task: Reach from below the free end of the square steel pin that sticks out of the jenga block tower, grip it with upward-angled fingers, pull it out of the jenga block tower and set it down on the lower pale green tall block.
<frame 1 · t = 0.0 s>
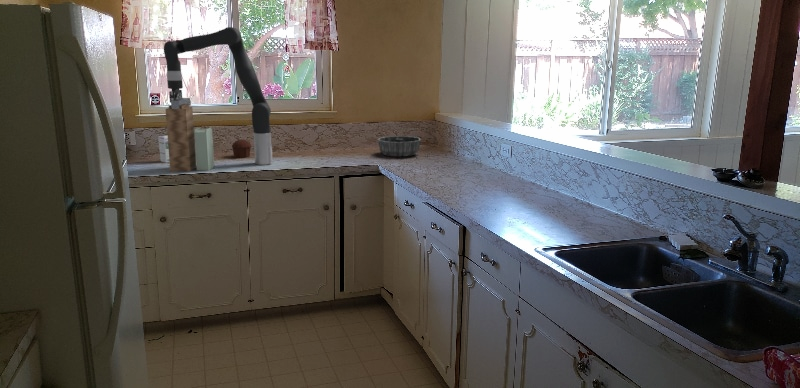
hand: (177, 110, 326), 29 cm above the worktop, tool pointing down, fingers open, 8 cm apart
jenga block tower: (183, 168, 318), on the worktop
pale green tall block: (205, 168, 321), on the worktop
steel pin: (181, 107, 315), point 32 cm above the worktop, touching jenga block tower
bundt pan: (399, 155, 369), on the worktop
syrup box: (167, 161, 339), on the worktop
muffin: (242, 157, 356), on the worktop
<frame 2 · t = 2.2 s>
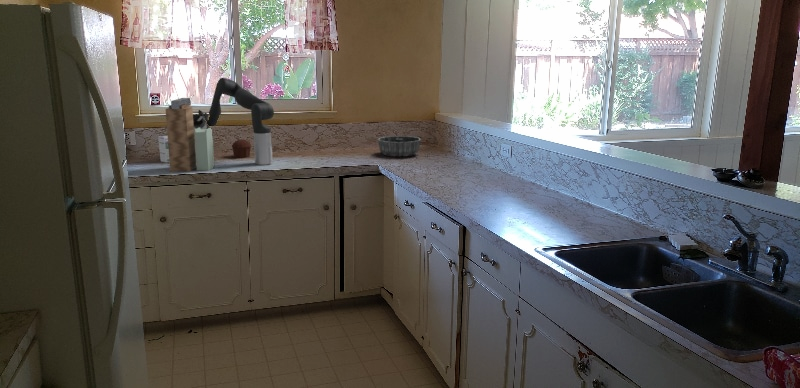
hand: (191, 111, 332), 28 cm above the worktop, tool pointing upward, fingers open, 8 cm apart
nothing on the worktop moved.
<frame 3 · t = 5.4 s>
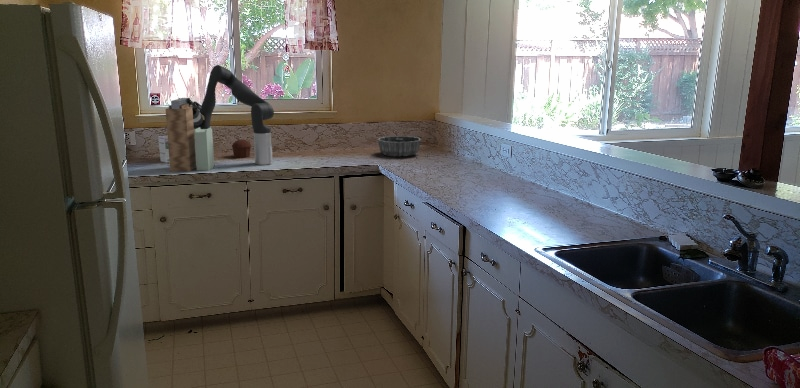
hand: (183, 99, 318), 35 cm above the worktop, tool pointing upward, fingers closed on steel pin, 4 cm apart
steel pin: (181, 107, 315), point 32 cm above the worktop, touching jenga block tower, gripper
everything else where it was.
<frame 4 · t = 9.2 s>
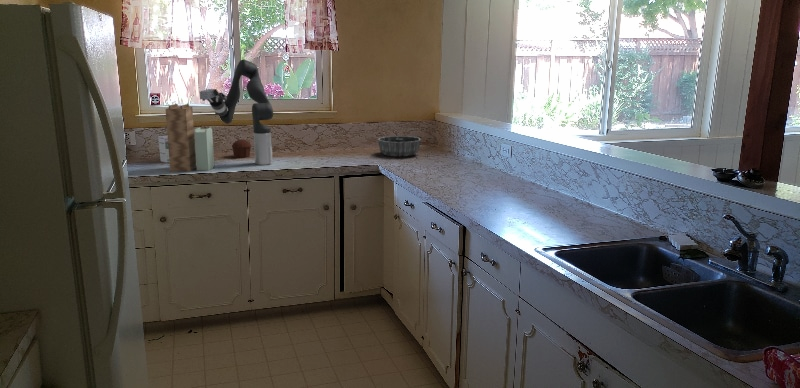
hand: (210, 90, 331), 39 cm above the worktop, tool pointing upward, fingers closed on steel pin, 4 cm apart
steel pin: (208, 97, 327), point 36 cm above the worktop, touching gripper
everything else where it was.
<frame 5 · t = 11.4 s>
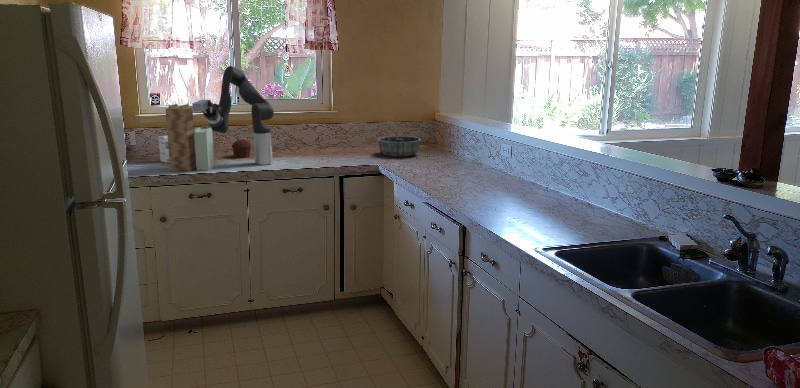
hand: (204, 101, 318), 35 cm above the worktop, tool pointing upward, fingers closed on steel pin, 4 cm apart
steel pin: (202, 109, 314), point 31 cm above the worktop, touching gripper
everything else where it was.
when the fingers open (25 cm above the worktop, at t = 13.3 s): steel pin drops 2 cm, resting on pale green tall block.
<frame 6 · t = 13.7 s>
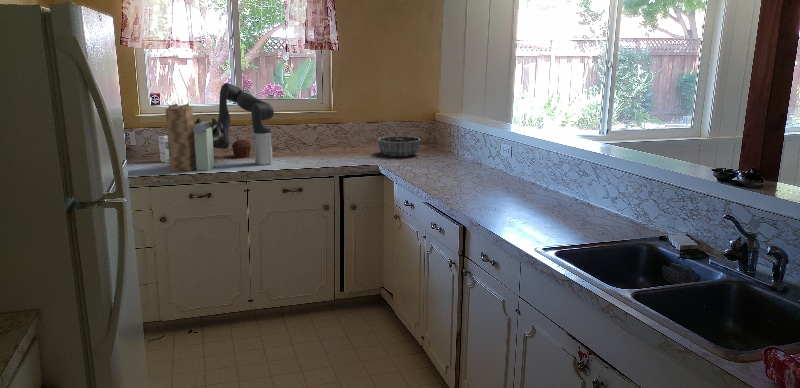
hand: (205, 119, 320), 25 cm above the worktop, tool pointing upward, fingers open, 7 cm apart
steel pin: (203, 130, 317), point 20 cm above the worktop, touching pale green tall block
everything else where it was.
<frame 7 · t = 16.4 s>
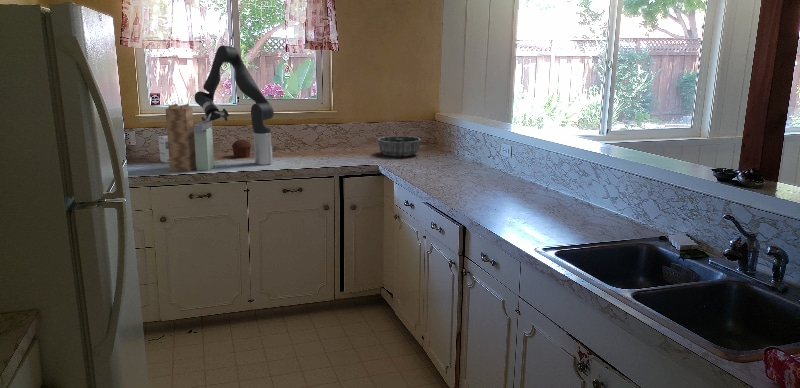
hand: (218, 122, 331), 22 cm above the worktop, tool tilted 70°, fingers open, 8 cm apart
nothing on the worktop moved.
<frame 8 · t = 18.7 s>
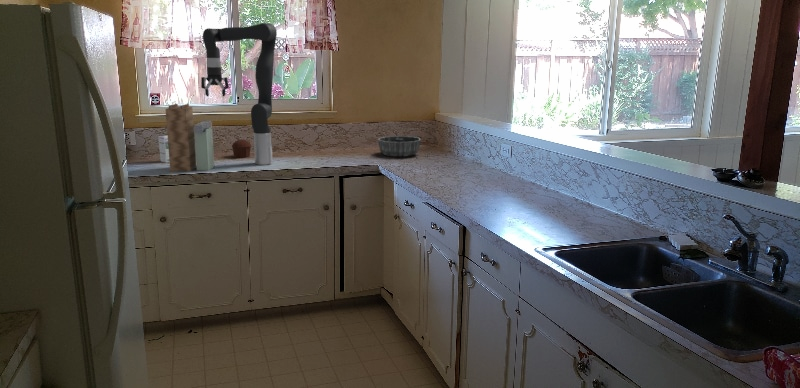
hand: (215, 96, 334), 36 cm above the worktop, tool pointing down, fingers open, 8 cm apart
nothing on the worktop moved.
at the end: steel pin inside the target area on the pale green tall block (0.6 cm from its centre), point 20.0 cm above the pale green tall block's base; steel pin touching pale green tall block; the gripper is holding nothing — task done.
